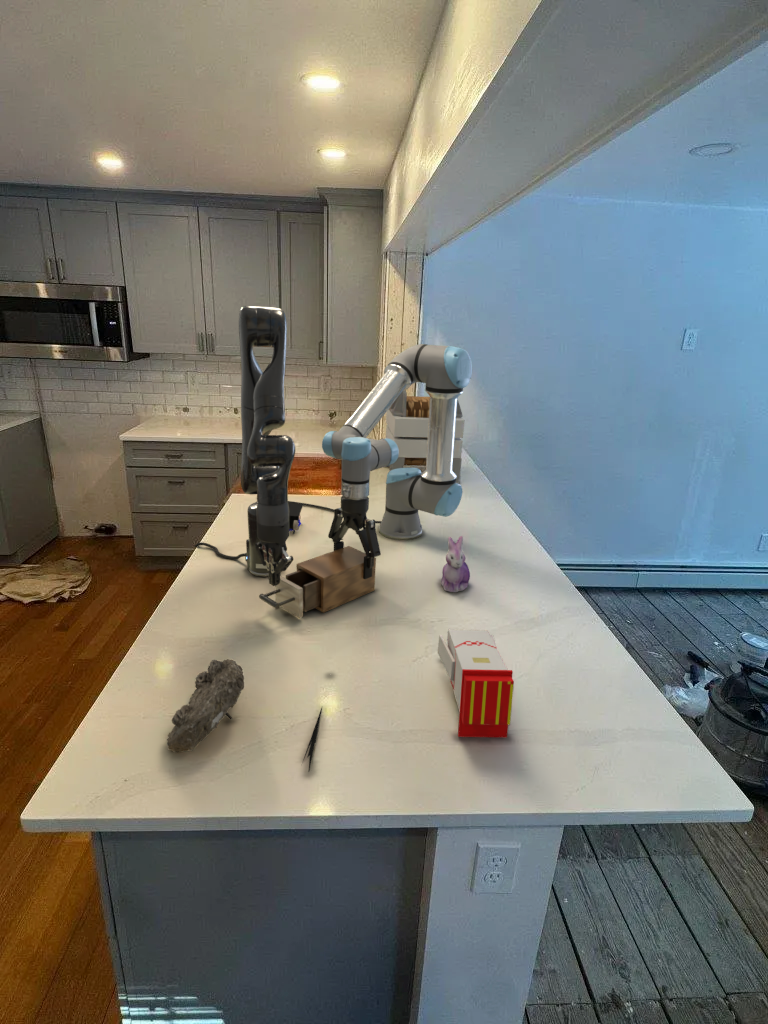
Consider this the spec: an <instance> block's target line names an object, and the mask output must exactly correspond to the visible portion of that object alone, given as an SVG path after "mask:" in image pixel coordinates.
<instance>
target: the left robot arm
mask: <svg viewBox="0 0 768 1024" xmlns="http://www.w3.org/2000/svg"><path fill="white" fill-rule="evenodd" d="M238 315H239V316H238V335H239V337H238V339H239V351H240V352H239V353H240V369H241V371H240V373H241V374H240V375H241V379H240V380H241V382H240V383H241V385H240V423H241V456H240V457H241V459H240V486H241V490H242V492H243V493H244V494H245V495H250V496H251V495H252V496H253V495H254V496H255V495H256V501H254V502H252V503H251V504H250V505H249V506H248V507H247V527H248V528H247V532H248V538H247V539H246V540H245V541H246V542H245V546H246V547H245V548H246V552H244V553H240V554H238V555H236V556H232V555H227V554H223V553H222V552H220V551H219V549H218V547H216V546H214V545H212V544H210V543H207V542H204V541H203V542H202V541H201V542H197V543H196V544H195V545H194V547H195V548H198V547H200V546H204V547H207V548H210V549H212V550H214V552H215V553H216V555H217V556H219V557H221V558H224V559H227V560H240V559H241V558H245V560H244V561H245V562H246V568H247V570H248V571H249V573H250V574H252V575H253V576H257V577H265V578H266V577H268V584H269V585H270V586H272V587H275V586H276V585H278V584H279V583H280V576H281V573H282V572H285V571H286V570H288V568H289V567H290V566H291V564H292V563H293V561H294V557H293V555H289V554H288V552H287V551H288V547H287V546H288V545H287V543H286V542H287V540H288V539H289V537H290V531H289V506H288V501H289V478H290V473H291V469H292V467H293V463H294V459H295V455H296V444H295V441H294V440H293V438H292V437H291V436H290V435H287V434H278V435H277V434H271V433H272V431H274V430H278V429H280V428H282V427H283V426H284V425H285V424H286V404H285V376H286V375H285V374H286V364H287V363H286V362H287V344H288V343H287V342H288V341H287V340H288V324H287V323H288V321H287V316H286V313H285V311H284V309H283V308H280V307H276V306H275V307H274V306H262V305H261V306H260V305H243V306H241V308H240V309H239V313H238ZM255 347H256V348H257V347H258V348H273V350H272V354H271V355H272V356H271V358H270V360H269V362H268V364H267V366H266V368H265V369H264V370H262V368H261V367H260V364H259V363H258V359H257V358H256V355H255V352H254V348H255Z"/></svg>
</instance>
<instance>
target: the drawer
mask: <svg viewBox="0 0 768 1024" xmlns="http://www.w3.org/2000/svg"><path fill="white" fill-rule="evenodd" d="M274 589H275V590H273V591H269V592H267V593H260V594H259V595H258V599H259V600H260V601H263V602H264V603H266V604H267V605H269V606H271V607H272V608H274V609H275V610H278V609H280V608H281V609H283V610H285V611H286V612H288V613H290V614H291V615H293V616H295V617H297V618H298V619H301V618H303V617H304V613H307V612H309V611H313V609H316V607H319V606H321V580H320V579H318V578H316V577H314V576H312V575H311V574H309V573H307V572H305V571H303V570H299V571H297V570H296V571H293V572H291V573H287V574H286V575H285V577H284V576H282V575H280V583H279V584H278V585H276V586H274ZM273 595H275V600H274V599H272V598H271V597H270V596H273Z"/></svg>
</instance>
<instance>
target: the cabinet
mask: <svg viewBox="0 0 768 1024" xmlns="http://www.w3.org/2000/svg"><path fill="white" fill-rule="evenodd" d="M364 556H366V554H365V551H364V552H363V551H361V550H359V549H357V548H355V547H352V546H350V545H346V546H344V548H341V549H338V550H335V551H334V550H332V551H330V552H327V553H324V554H321V555H318V556H316V557H313V558H310V559H307V560H303V561H301V562H298V563H296V566H295V567H296V571H299V570H303V571H305V572H307V573H309V574H311V575H312V576H314V577H316V578H318V579H320V580H321V606H319V607H316V608H315V610H318V611H319V612H321V613H323V614H324V613H326V612H329V611H332V610H334V609H335V608H338V607H340V606H342V605H345V604H347V603H349V602H351V601H354V600H356V599H359V598H360V597H363V596H366V595H368V594H370V593H372V592H374V591H375V590H376V588H375V587H376V569H377V567H376V566H377V564H376V563H377V557H374V567H373V568H372V577H370V578H367V579H363V569H364Z"/></svg>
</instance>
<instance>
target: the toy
mask: <svg viewBox="0 0 768 1024" xmlns="http://www.w3.org/2000/svg"><path fill="white" fill-rule="evenodd" d="M446 640H447V643H446V641H445V639H444V636H443V635H442V634H439V637H438V646H437V656H438V657H439V659H440V661H441V663H442V666H443V668H444V670H445V672H446V674H447V677H448V679H449V681H450V684H451V687H452V690H453V693H454V697H455V701H456V705H457V708H458V711H459V714H458V715H459V716H458V730H457V731H458V732H457V737H458V738H508V731H509V726H510V725H511V717H512V707H513V697H514V696H513V695H514V684H515V680H514V679H513V673H514V671H513V670H512V669H508V667H507V665H506V662H505V661H504V659H503V658H502V655H501V653H500V651H499V649H498V647H497V643H496V639H495V637H494V635H493V634H491V632H490V631H489V629H467V628H466V629H465V628H463V629H461V628H460V629H459V628H448V630H447V639H446Z"/></svg>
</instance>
